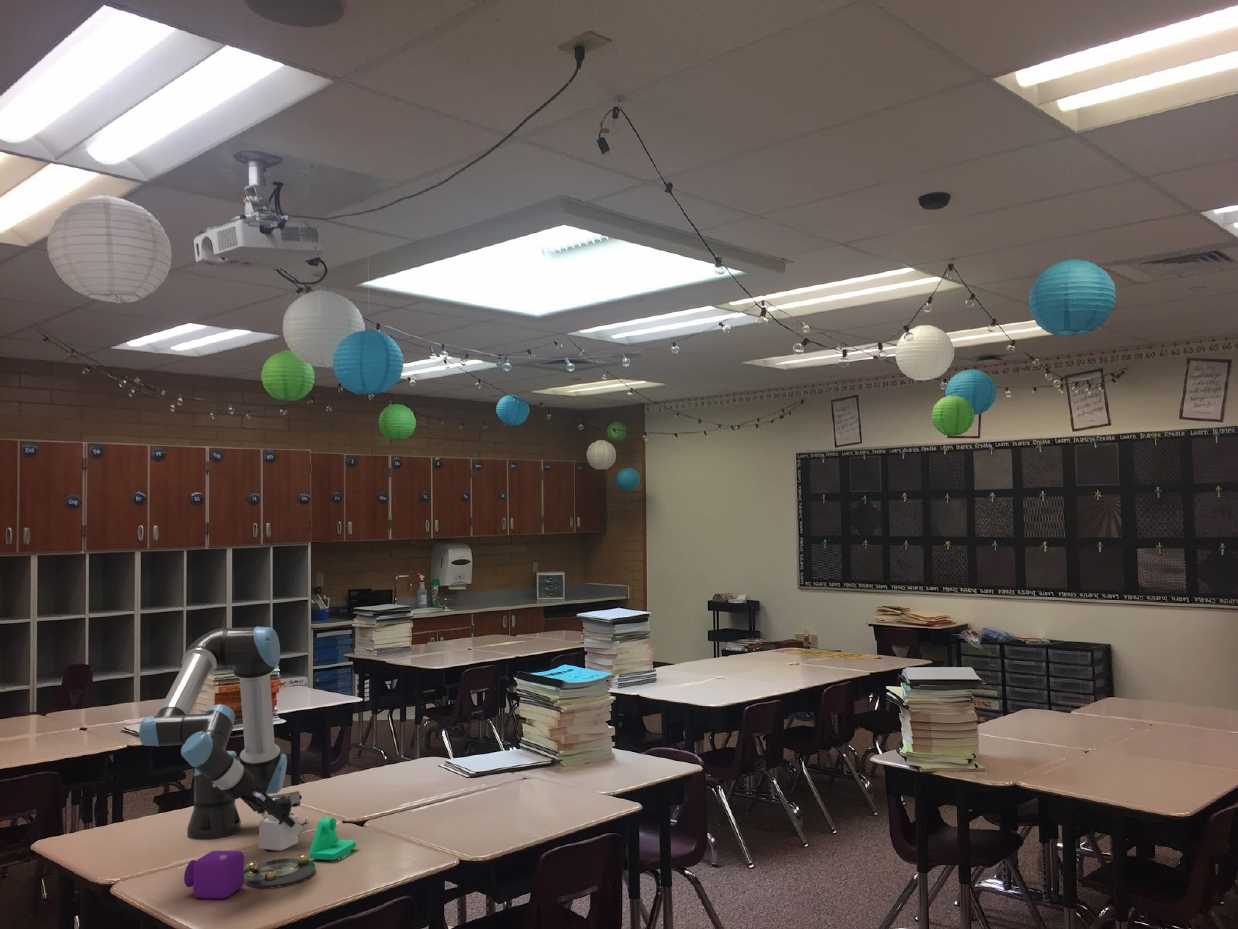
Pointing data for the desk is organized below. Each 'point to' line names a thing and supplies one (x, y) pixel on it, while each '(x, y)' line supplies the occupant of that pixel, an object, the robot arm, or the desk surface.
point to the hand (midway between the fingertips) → (290, 828)
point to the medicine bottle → (276, 830)
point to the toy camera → (216, 874)
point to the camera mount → (329, 842)
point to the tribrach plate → (278, 872)
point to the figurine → (295, 802)
